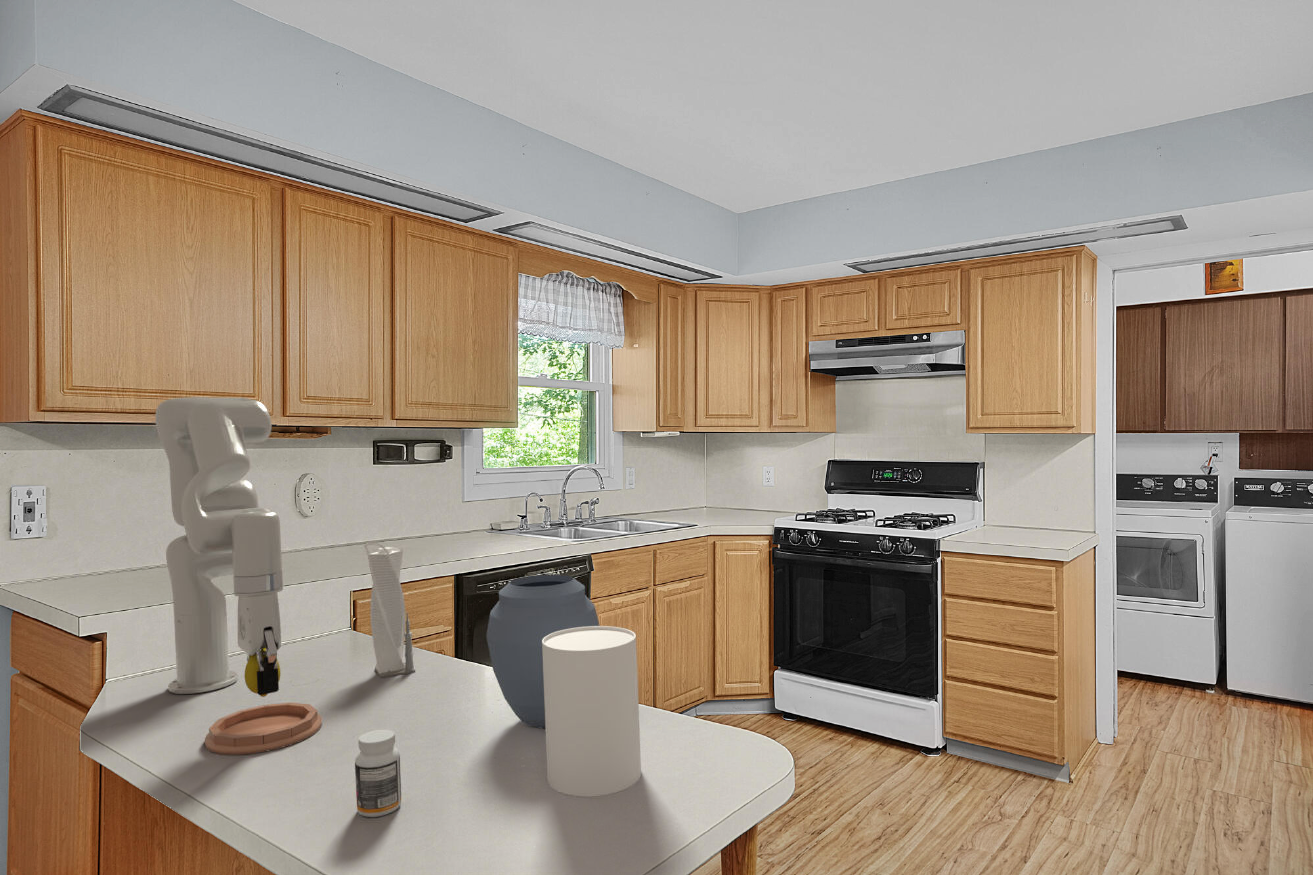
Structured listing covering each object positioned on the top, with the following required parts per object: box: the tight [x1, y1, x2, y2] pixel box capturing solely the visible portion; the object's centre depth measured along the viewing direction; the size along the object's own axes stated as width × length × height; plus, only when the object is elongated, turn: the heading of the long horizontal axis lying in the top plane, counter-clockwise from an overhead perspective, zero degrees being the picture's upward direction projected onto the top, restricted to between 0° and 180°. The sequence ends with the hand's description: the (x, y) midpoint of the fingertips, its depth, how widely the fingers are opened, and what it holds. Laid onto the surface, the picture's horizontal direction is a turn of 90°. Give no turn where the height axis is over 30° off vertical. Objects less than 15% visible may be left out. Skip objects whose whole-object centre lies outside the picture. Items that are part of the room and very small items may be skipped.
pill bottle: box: [354, 729, 402, 818], centre depth 108 cm, size 6×6×10 cm
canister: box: [542, 625, 642, 797], centre depth 117 cm, size 14×14×20 cm
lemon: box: [244, 649, 281, 698], centre depth 138 cm, size 6×6×8 cm
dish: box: [204, 702, 323, 756], centre depth 138 cm, size 18×18×2 cm
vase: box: [485, 574, 601, 729], centre depth 139 cm, size 20×20×24 cm
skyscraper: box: [363, 542, 416, 679], centre depth 173 cm, size 8×8×28 cm
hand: (263, 687), depth 138 cm, fingers closed on lemon, 5 cm apart
